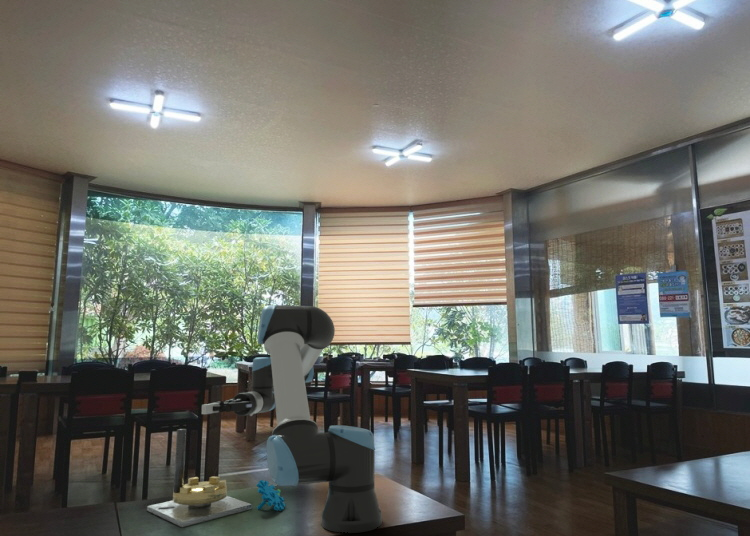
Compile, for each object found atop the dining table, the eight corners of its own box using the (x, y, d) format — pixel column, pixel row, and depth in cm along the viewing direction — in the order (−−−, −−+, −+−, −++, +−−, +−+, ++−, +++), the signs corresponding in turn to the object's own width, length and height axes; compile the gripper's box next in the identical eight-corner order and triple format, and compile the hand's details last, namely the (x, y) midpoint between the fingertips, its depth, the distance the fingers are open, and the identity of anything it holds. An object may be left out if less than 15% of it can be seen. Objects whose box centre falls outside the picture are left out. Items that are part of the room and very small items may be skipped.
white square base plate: (251, 509, 139) (251, 498, 139) (181, 527, 124) (182, 515, 125) (214, 495, 152) (214, 485, 153) (147, 510, 138) (147, 499, 138)
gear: (277, 510, 132) (254, 479, 136) (260, 526, 132) (239, 495, 136) (293, 504, 142) (272, 476, 146) (278, 519, 142) (257, 491, 146)
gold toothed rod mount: (215, 488, 148) (218, 422, 151) (234, 498, 138) (237, 427, 141) (165, 496, 140) (169, 427, 143) (181, 508, 129) (185, 432, 132)
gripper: (263, 415, 170) (222, 423, 148) (230, 414, 174) (184, 422, 152) (264, 392, 171) (223, 396, 149) (231, 392, 175) (186, 396, 153)
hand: (203, 409), depth 150 cm, fingers closed
